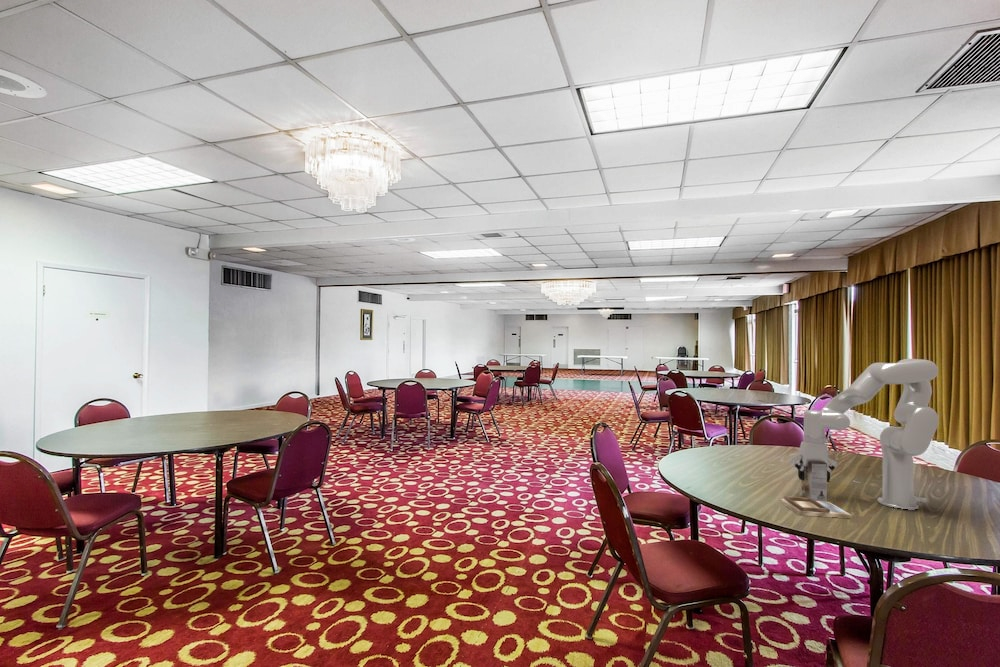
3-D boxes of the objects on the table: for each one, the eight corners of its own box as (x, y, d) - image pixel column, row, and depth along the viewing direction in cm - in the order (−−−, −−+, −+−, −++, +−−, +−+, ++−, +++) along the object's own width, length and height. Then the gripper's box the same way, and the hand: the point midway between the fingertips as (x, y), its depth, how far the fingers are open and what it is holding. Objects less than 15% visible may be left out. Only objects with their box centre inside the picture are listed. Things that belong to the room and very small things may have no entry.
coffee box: (800, 493, 197) (800, 456, 197) (817, 495, 196) (817, 457, 196) (810, 500, 188) (810, 461, 188) (827, 502, 187) (828, 463, 187)
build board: (828, 505, 183) (828, 498, 183) (851, 518, 169) (851, 511, 169) (781, 502, 185) (781, 495, 185) (798, 515, 171) (798, 508, 171)
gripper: (831, 439, 195) (830, 479, 195) (787, 437, 197) (787, 476, 197) (841, 442, 188) (841, 484, 187) (796, 440, 190) (796, 481, 189)
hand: (814, 480), depth 192 cm, fingers open, 9 cm apart
